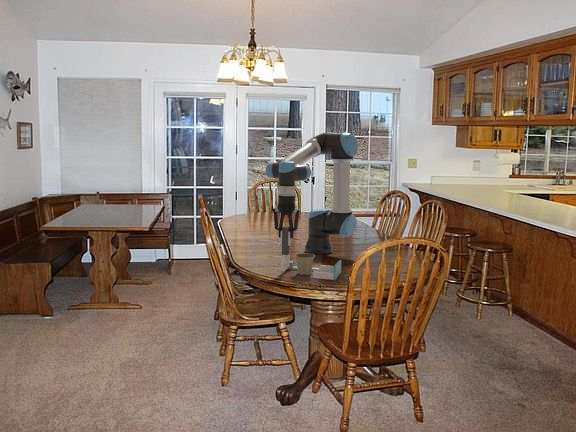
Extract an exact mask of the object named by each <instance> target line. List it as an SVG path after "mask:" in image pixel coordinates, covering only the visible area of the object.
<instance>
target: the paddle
mask: <svg viewBox="0 0 576 432" xmlns="http://www.w3.org/2000/svg"><path fill="white" fill-rule="evenodd" d="M289 231H290V227H289V226H286V225H284V226H283V227H282V245H281V256H280V272H285V271H287V270H288V269H287V268H289V267H292V266H294V265H295V263H294V261H293V260H292V261H291V252H290V251H291V249H290V247H291V245H290V246H288V232H289Z"/></svg>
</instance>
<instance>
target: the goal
mask: <svg viewBox="0 0 576 432" xmlns="http://www.w3.org/2000/svg"><path fill="white" fill-rule="evenodd" d="M340 274H342V260H341V259H339V260H338V261H336V263H335V264H334V265H325V264H320V265H319V272H318V271H313V279H318V280H319V279H320V280H332V281H336V280H337V278H338V277H339V276H340Z"/></svg>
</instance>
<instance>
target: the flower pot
mask: <svg viewBox="0 0 576 432" xmlns="http://www.w3.org/2000/svg"><path fill="white" fill-rule="evenodd" d="M294 257H295V260H296V266H297V269H298V270H297V274H298V275H301V276H304V275H306V276H309V275H312V272H313V271H312V268H313V265H314V264H313V263H314V259H315V257H316V254H312V253H307V252H306V253H305V252H304V253H303V252H302V253H297V254H294Z"/></svg>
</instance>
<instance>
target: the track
mask: <svg viewBox="0 0 576 432" xmlns="http://www.w3.org/2000/svg"><path fill="white" fill-rule="evenodd" d="M286 270H291V271H292V270H294V271H298V269H297V265H296V266H292V267H289V268H287V269H286ZM314 271H318V272H320V267H319V268H318V267H312V271H311V272H314Z"/></svg>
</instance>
